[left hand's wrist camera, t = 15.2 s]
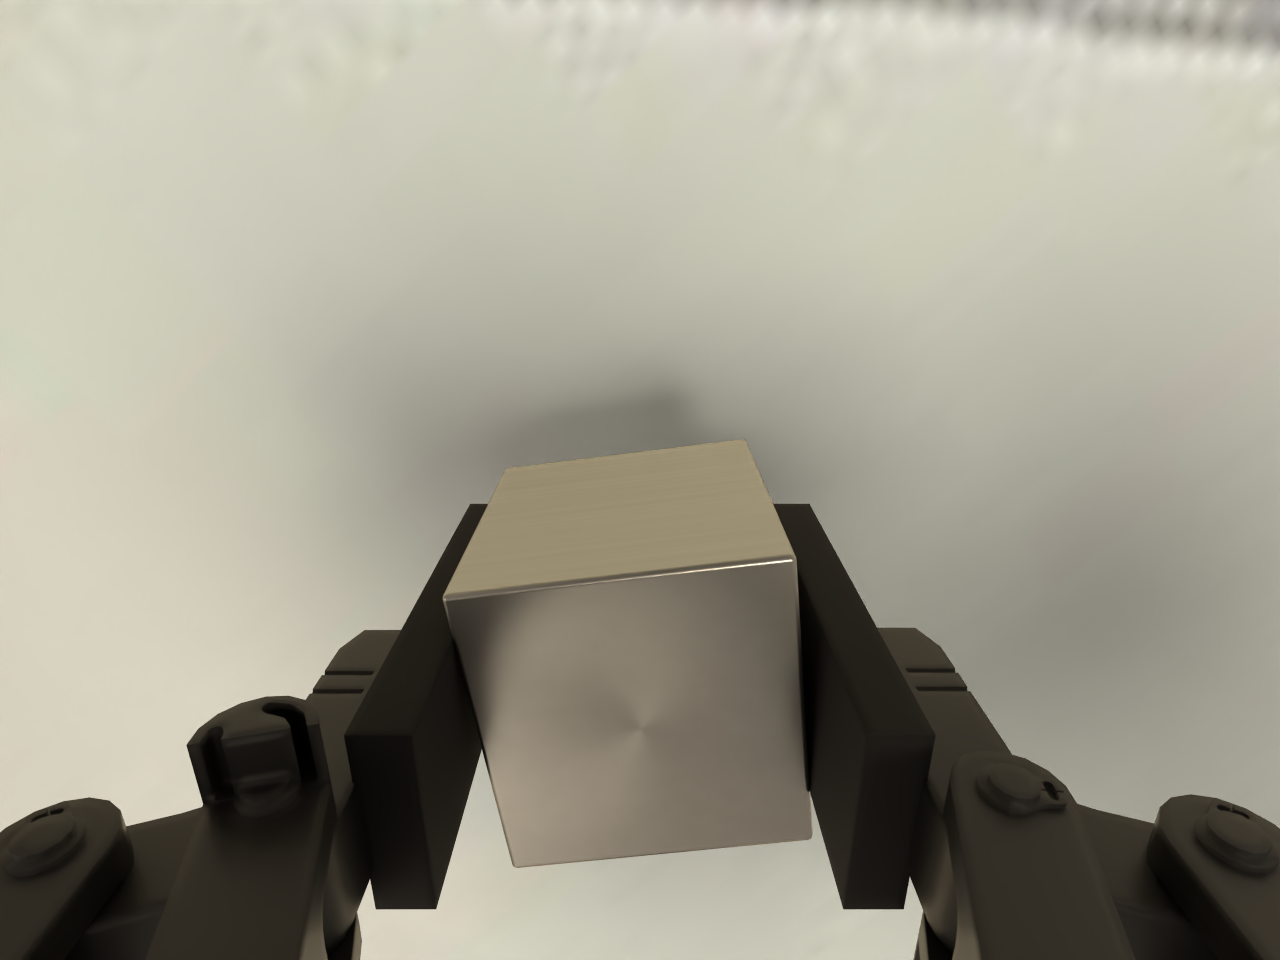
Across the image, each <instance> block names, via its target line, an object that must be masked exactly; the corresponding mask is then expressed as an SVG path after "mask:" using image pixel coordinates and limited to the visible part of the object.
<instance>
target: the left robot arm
mask: <svg viewBox="0 0 1280 960" xmlns="http://www.w3.org/2000/svg"><path fill="white" fill-rule="evenodd" d="M773 505H774V508H775V510H776V512H777V514H778V517H779V519H780V521H781V524H782V526H783V528H784V531H785V533H786V535H787V538H788V540H789V542H790V545H791V547H792V549H793V552H794V554H795V556H796V560H797V577H798V594H799V611H800V629H801V646H802V663H803V680H804V697H805V715H806V732H807V749H808V766H809V783H810V793H811V797H812V800H813V804H814V807H815V811H816V814H817V818H818V822H819V825H820V829H821V832H822V836H823V839H824V843H825V846H826V850H827V853H828V857H829V860H830V864H831V867H832V871H833V874H834V878H835V881H836V885H837V888H838V892H839V895H840V899H841V902H842V906H843V909H904V904H905V899H906V894H907V888H908V883H909V877H910V878H911V880H912V883H913V885H914V888H915V890H916V893H917V895H918V898H919V900H920V903H921V905H922V908H923V915H922V920H921V925H920V930H919V935H918V940H917V945H916V950H915V955H914V960H1280V829H1279V828H1278V827H1277V826H1276V825H1274V824H1273V823H1271V822H1269V821H1267V820H1265V819H1264V818H1262V817H1260V816H1258V815H1256V814H1255V813H1253V812H1251V811H1249V810H1247V809H1246V808H1243V807H1240V806H1237V805H1234V804H1231V803H1229V802H1226V801H1223V800H1220V799H1217V798H1211V797H1205V796H1198V795H1184V796H1178V797H1172V798H1170V799H1169V800H1168V801H1167V802H1165V803H1164V804H1163V805H1162V806H1161V807H1160V809H1159V812H1158V815H1157V818H1156V820H1155V823H1149V822H1145V821H1141V820H1137V819H1132V818H1128V817H1124V816H1120V815H1116V814H1111V813H1107V812H1103V811H1099V810H1095V809H1092V808H1089V807H1085V806H1082V805H1079V804H1077V803H1076V801H1075V800H1074V798H1073V797H1072V795H1071V793H1070V792H1069V790H1068V789H1067V787H1066V786H1065V785H1064V784H1063V783H1062V782H1061V781H1059V780H1058V779H1057V778H1056V777H1055V776H1053V775H1052V774H1051V773H1050V772H1049V771H1048V770H1046V769H1044V768H1042V767H1040V766H1038V765H1036V764H1034V763H1033V762H1031V761H1029V760H1027V759H1025V758H1021V757H1018V756H1014V755H1012V754H1011V752H1010V751H1009V749H1008V748H1007V746H1006V745H1005V743H1004V741H1003V740H1002V738H1001V737H1000V735H999V734H998V732H997V731H996V729H995V728H994V726H993V725H992V723H991V722H990V720H989V719H988V717H987V716H986V714H985V713H984V711H983V710H982V708H981V707H980V705H979V704H978V702H977V701H976V699H975V698H974V696H973V695H972V693H971V692H970V691H967V686H966V684H965V683H964V681H963V680H962V678H961V677H960V675H959V674H958V673H955V668H954V666H953V665H952V663H951V662H950V660H949V659H948V657H947V656H946V654H945V653H944V651H943V650H942V648H941V647H940V646H939V645H938V644H936V643H935V642H933V641H932V640H931V639H929V638H928V637H927V636H925V635H924V634H923V633H921V632H920V631H919V630H917V629H916V628H877V627H876V625H875V623H874V621H873V620H872V618H871V616H870V614H869V612H868V611H867V609H866V607H865V605H864V603H863V601H862V600H861V598H860V596H859V594H858V592H857V590H856V589H855V587H854V585H853V583H852V581H851V579H850V578H849V576H848V574H847V572H846V570H845V568H844V567H843V565H842V563H841V561H840V559H839V557H838V556H837V554H836V552H835V550H834V548H833V547H832V545H831V543H830V541H829V539H828V537H827V536H826V534H825V532H824V530H823V528H822V526H821V525H820V523H819V521H818V519H817V517H816V515H815V514H814V512H813V510H812V508H811V506H810V504H773ZM487 506H488V504H470V505H469V507H468V509H467V511H466V513H465V515H464V516H463V518H462V520H461V522H460V524H459V525H458V527H457V529H456V531H455V533H454V535H453V536H452V538H451V540H450V542H449V544H448V546H447V547H446V549H445V551H444V553H443V555H442V557H441V558H440V560H439V562H438V564H437V566H436V568H435V569H434V571H433V573H432V575H431V577H430V578H429V580H428V582H427V584H426V586H425V588H424V589H423V591H422V593H421V595H420V597H419V599H418V600H417V602H416V604H415V606H414V608H413V610H412V611H411V613H410V615H409V617H408V619H407V621H406V622H405V624H404V626H403V628H402V630H364V631H363V632H362V633H360V634H359V635H358V636H356V637H355V638H354V639H352V640H351V641H350V642H348V643H347V644H345V645H344V646H343V647H341V648H340V649H339V650H338V652H337V653H336V655H335V656H334V658H333V659H332V661H331V662H330V664H329V665H328V667H327V669H326V670H325V675H322V676H321V678H320V679H319V681H318V682H317V684H316V685H315V687H314V688H313V693H312V694H309V696H308V697H307V699H306V700H303V699H299V698H295V697H291V696H272V697H263V698H259V699H255V700H251V701H248V702H244V703H241V704H238V705H236V706H234V707H232V708H230V709H228V710H226V711H223V712H221V713H219V714H217V715H216V716H215V717H213V718H212V719H211V720H209V721H208V722H207V723H205V724H204V725H203V726H201V727H200V728H199V729H198V730H197V731H196V733H195V734H194V736H193V737H192V738H191V740H190V741H189V742H188V744H187V749H188V752H189V756H190V759H191V763H192V766H193V770H194V773H195V777H196V780H197V784H198V787H199V791H200V794H201V798H202V801H203V806H202V807H201V808H198V809H194V810H191V811H188V812H185V813H181V814H177V815H173V816H169V817H164V818H160V819H156V820H152V821H148V822H143V823H139V824H135V825H131V826H127V827H126V825H125V822H124V819H123V817H122V814H121V811H120V810H119V809H118V808H117V807H116V806H115V805H114V804H112V803H111V802H110V801H108V800H102V799H95V798H84V799H77V800H70V801H63V802H61V803H58V804H55V805H52V806H49V807H47V808H44V809H41V810H38V811H36V812H33V813H32V814H30V815H28V816H26V817H24V818H23V819H21V820H19V821H17V822H16V823H14V824H12V825H10V826H8V827H7V828H5V829H4V830H3V831H2V832H0V960H360V954H361V944H362V939H361V932H360V925H359V920H358V915H357V910H358V908H359V905H360V903H361V900H362V898H363V895H364V893H365V890H366V888H367V885H368V882H369V880H371V885H372V891H373V896H374V902H375V907H376V909H436V908H437V904H438V901H439V897H440V894H441V890H442V887H443V883H444V880H445V876H446V873H447V869H448V865H449V862H450V858H451V855H452V851H453V848H454V844H455V841H456V837H457V834H458V830H459V827H460V823H461V820H462V816H463V813H464V809H465V806H466V802H467V799H468V795H469V792H470V788H471V785H472V781H473V778H474V774H475V771H476V767H477V764H478V760H479V757H480V753H481V750H482V747H481V743H480V739H479V735H478V732H477V728H476V724H475V720H474V716H473V713H472V709H471V705H470V701H469V697H468V693H467V690H466V686H465V682H464V678H463V674H462V671H461V667H460V663H459V659H458V655H457V652H456V648H455V644H454V640H453V636H452V633H451V629H450V625H449V621H448V617H447V614H446V610H445V606H444V602H443V595H444V593H445V591H446V589H447V587H448V585H449V583H450V581H451V579H452V577H453V575H454V573H455V571H456V569H457V567H458V565H459V563H460V561H461V559H462V557H463V554H464V552H465V550H466V548H467V546H468V544H469V542H470V540H471V538H472V536H473V534H474V532H475V530H476V528H477V526H478V524H479V522H480V520H481V518H482V516H483V514H484V512H485V510H486V508H487Z"/></svg>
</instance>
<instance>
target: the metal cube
mask: <svg viewBox="0 0 1280 960" xmlns="http://www.w3.org/2000/svg"><path fill="white" fill-rule="evenodd" d="M443 602H444V606H445V610H446V614H447V617H448V621H449V625H450V629H451V633H452V636H453V640H454V644H455V648H456V652H457V655H458V659H459V663H460V667H461V671H462V674H463V678H464V682H465V686H466V690H467V693H468V697H469V701H470V705H471V709H472V713H473V716H474V720H475V724H476V728H477V732H478V735H479V739H480V743H481V747H482V751H483V754H484V758H485V762H486V766H487V770H488V773H489V777H490V781H491V785H492V789H493V792H494V796H495V800H496V804H497V808H498V811H499V815H500V819H501V823H502V827H503V831H504V834H505V838H506V842H507V846H508V850H509V853H510V857H511V861H512V865H513V866H514V867H516V868H520V867H530V866H540V865H551V864H561V863H572V862H582V861H592V860H603V859H613V858H623V857H634V856H644V855H654V854H665V853H675V852H686V851H696V850H706V849H717V848H727V847H737V846H748V845H758V844H768V843H779V842H789V841H800V840H809V839H811V837H812V818H811V800H810V783H809V766H808V749H807V732H806V715H805V697H804V680H803V663H802V646H801V629H800V611H799V594H798V577H797V560H796V556H795V554H794V552H793V549H792V547H791V545H790V542H789V540H788V538H787V535H786V533H785V531H784V528H783V526H782V524H781V521H780V519H779V517H778V514H777V512H776V510H775V508H774V505H773V503H772V501H771V498H770V496H769V494H768V491H767V489H766V487H765V484H764V482H763V480H762V477H761V475H760V473H759V470H758V468H757V466H756V463H755V461H754V459H753V456H752V454H751V452H750V449H749V447H748V445H747V443H746V441H745V440H743V439H740V440H732V441H724V442H715V443H707V444H699V445H691V446H683V447H675V448H667V449H659V450H650V451H642V452H634V453H626V454H618V455H610V456H602V457H593V458H585V459H577V460H569V461H561V462H553V463H545V464H537V465H528V466H520V467H512V468H507V469H505V471H504V473H503V475H502V477H501V479H500V481H499V483H498V485H497V487H496V490H495V492H494V494H493V496H492V498H491V500H490V502H489V504H488V506H487V508H486V510H485V512H484V514H483V516H482V518H481V520H480V522H479V524H478V526H477V528H476V530H475V532H474V534H473V536H472V538H471V540H470V542H469V544H468V546H467V548H466V550H465V552H464V554H463V557H462V559H461V561H460V563H459V565H458V567H457V569H456V571H455V573H454V575H453V577H452V579H451V581H450V583H449V585H448V587H447V589H446V591H445V593H444V595H443Z"/></svg>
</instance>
